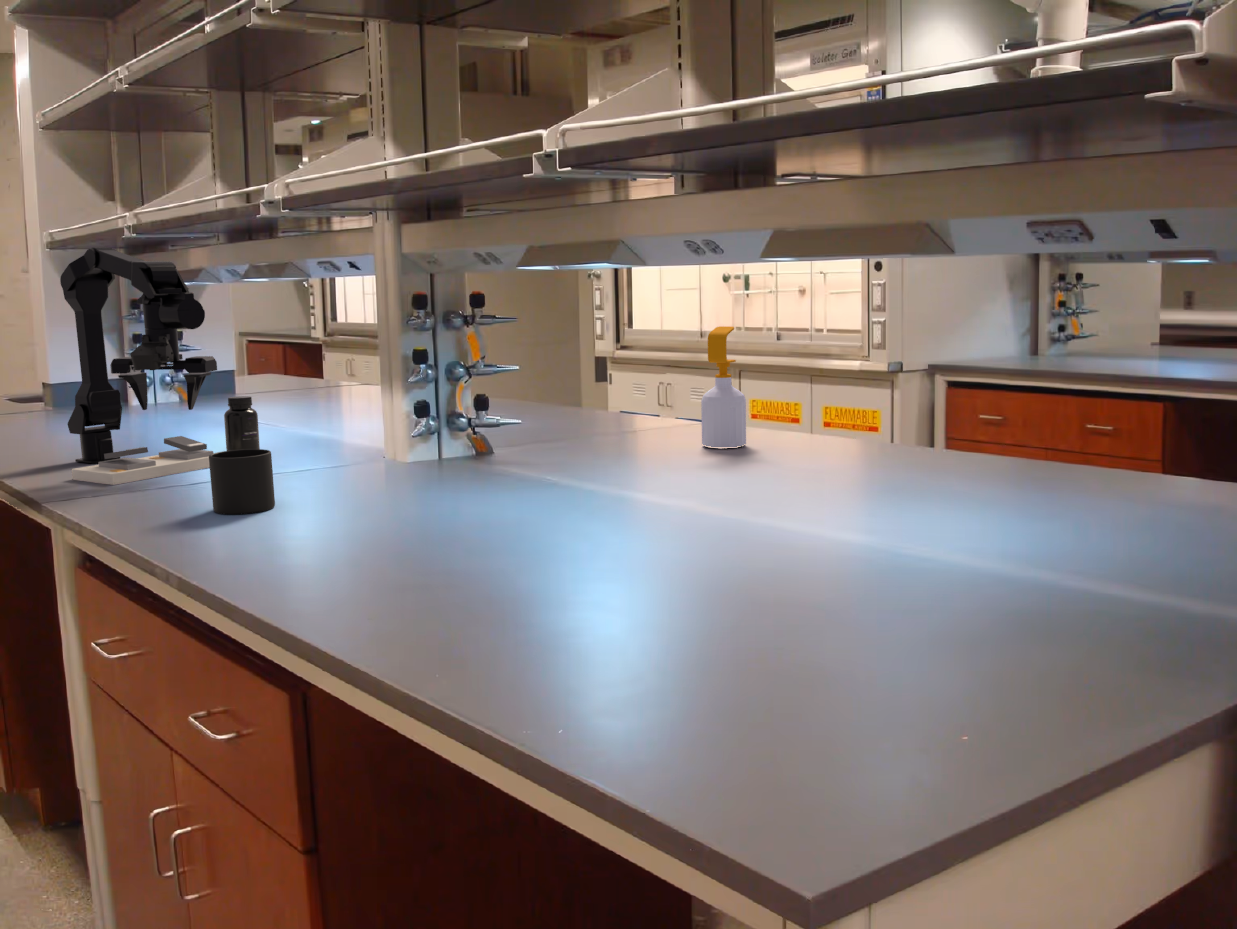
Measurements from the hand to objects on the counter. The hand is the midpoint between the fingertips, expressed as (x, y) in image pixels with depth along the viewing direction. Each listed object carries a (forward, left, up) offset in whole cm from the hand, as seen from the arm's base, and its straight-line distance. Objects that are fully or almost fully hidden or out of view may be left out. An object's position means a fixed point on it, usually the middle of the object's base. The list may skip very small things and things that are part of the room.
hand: (167, 409), depth 218 cm
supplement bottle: (-7, +22, -12) cm, 26 cm away
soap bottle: (+83, +71, -12) cm, 110 cm away
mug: (+43, -18, -12) cm, 48 cm away
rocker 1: (-3, -8, -8) cm, 11 cm away
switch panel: (-3, -2, -12) cm, 13 cm away
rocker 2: (-3, +5, -8) cm, 10 cm away
